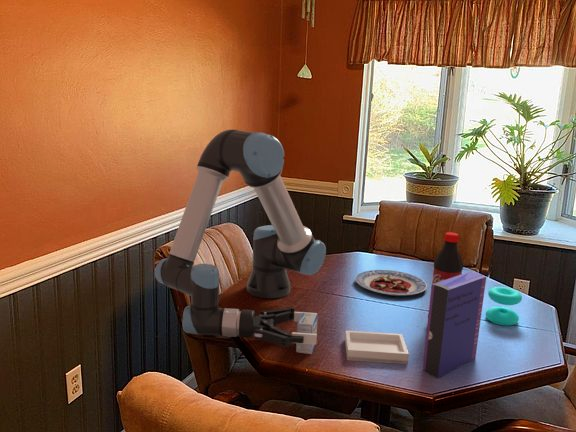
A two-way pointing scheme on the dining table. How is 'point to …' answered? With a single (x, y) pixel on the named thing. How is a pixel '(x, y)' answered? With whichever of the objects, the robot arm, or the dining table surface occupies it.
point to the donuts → (502, 313)
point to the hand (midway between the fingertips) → (316, 328)
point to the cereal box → (453, 323)
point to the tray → (376, 347)
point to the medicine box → (306, 331)
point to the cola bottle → (448, 260)
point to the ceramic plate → (391, 282)
